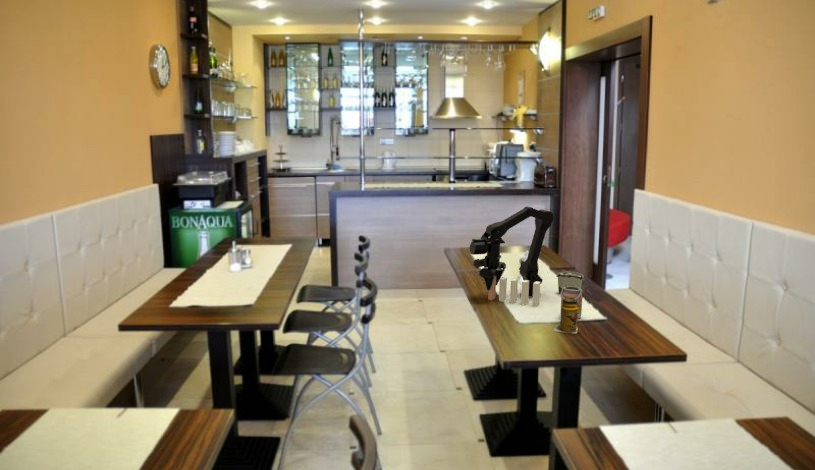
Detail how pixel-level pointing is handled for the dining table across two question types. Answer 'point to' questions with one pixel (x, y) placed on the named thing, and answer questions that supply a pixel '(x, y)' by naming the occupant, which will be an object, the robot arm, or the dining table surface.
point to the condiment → (568, 317)
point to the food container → (569, 280)
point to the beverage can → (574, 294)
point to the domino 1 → (492, 290)
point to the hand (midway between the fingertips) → (492, 287)
